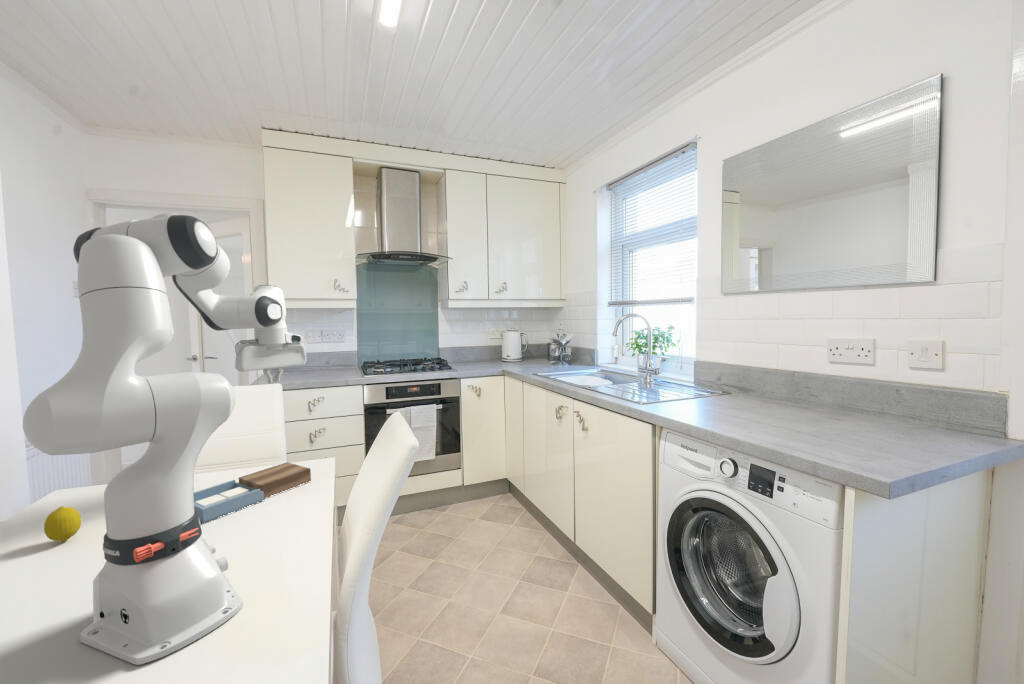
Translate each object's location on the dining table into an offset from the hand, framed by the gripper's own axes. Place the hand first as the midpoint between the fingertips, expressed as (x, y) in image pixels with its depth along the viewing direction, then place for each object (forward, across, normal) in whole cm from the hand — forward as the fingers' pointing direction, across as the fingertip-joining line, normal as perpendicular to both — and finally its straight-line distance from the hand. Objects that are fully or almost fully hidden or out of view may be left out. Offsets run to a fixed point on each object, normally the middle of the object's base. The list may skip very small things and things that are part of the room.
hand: (274, 382), depth 127 cm
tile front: (+27, -22, -9) cm, 36 cm away
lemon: (+29, -46, +3) cm, 55 cm away
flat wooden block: (+29, -6, -9) cm, 31 cm away
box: (+29, -20, -9) cm, 36 cm away
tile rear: (+29, -17, -9) cm, 34 cm away
